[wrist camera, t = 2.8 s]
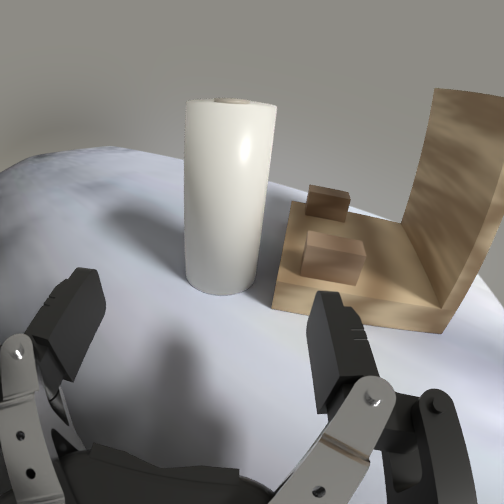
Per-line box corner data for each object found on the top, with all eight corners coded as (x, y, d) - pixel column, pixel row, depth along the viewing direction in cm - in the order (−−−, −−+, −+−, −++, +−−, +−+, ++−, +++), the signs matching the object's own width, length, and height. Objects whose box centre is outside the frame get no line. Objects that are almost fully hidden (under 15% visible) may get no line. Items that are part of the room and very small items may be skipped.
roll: (175, 286, 22) (171, 100, 14) (199, 247, 26) (204, 95, 19) (248, 302, 21) (271, 107, 14) (261, 259, 26) (281, 102, 18)
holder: (271, 308, 21) (315, 25, 11) (288, 221, 32) (312, 55, 23) (441, 333, 19) (531, 109, 9) (405, 245, 31) (446, 92, 21)
